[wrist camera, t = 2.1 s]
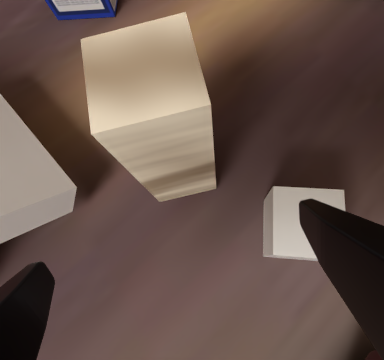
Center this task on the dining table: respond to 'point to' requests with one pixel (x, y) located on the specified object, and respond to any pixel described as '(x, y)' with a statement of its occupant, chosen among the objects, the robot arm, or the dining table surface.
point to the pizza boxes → (28, 179)
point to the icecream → (373, 356)
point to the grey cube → (292, 220)
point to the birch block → (152, 105)
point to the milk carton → (82, 8)
